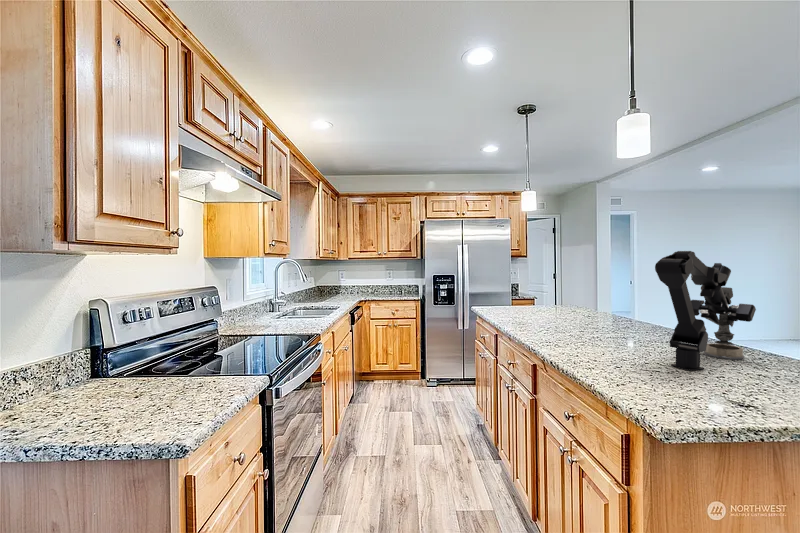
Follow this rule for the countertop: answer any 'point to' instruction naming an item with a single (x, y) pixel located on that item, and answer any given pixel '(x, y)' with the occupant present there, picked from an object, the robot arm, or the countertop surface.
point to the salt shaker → (723, 331)
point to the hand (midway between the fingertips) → (725, 324)
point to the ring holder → (724, 351)
